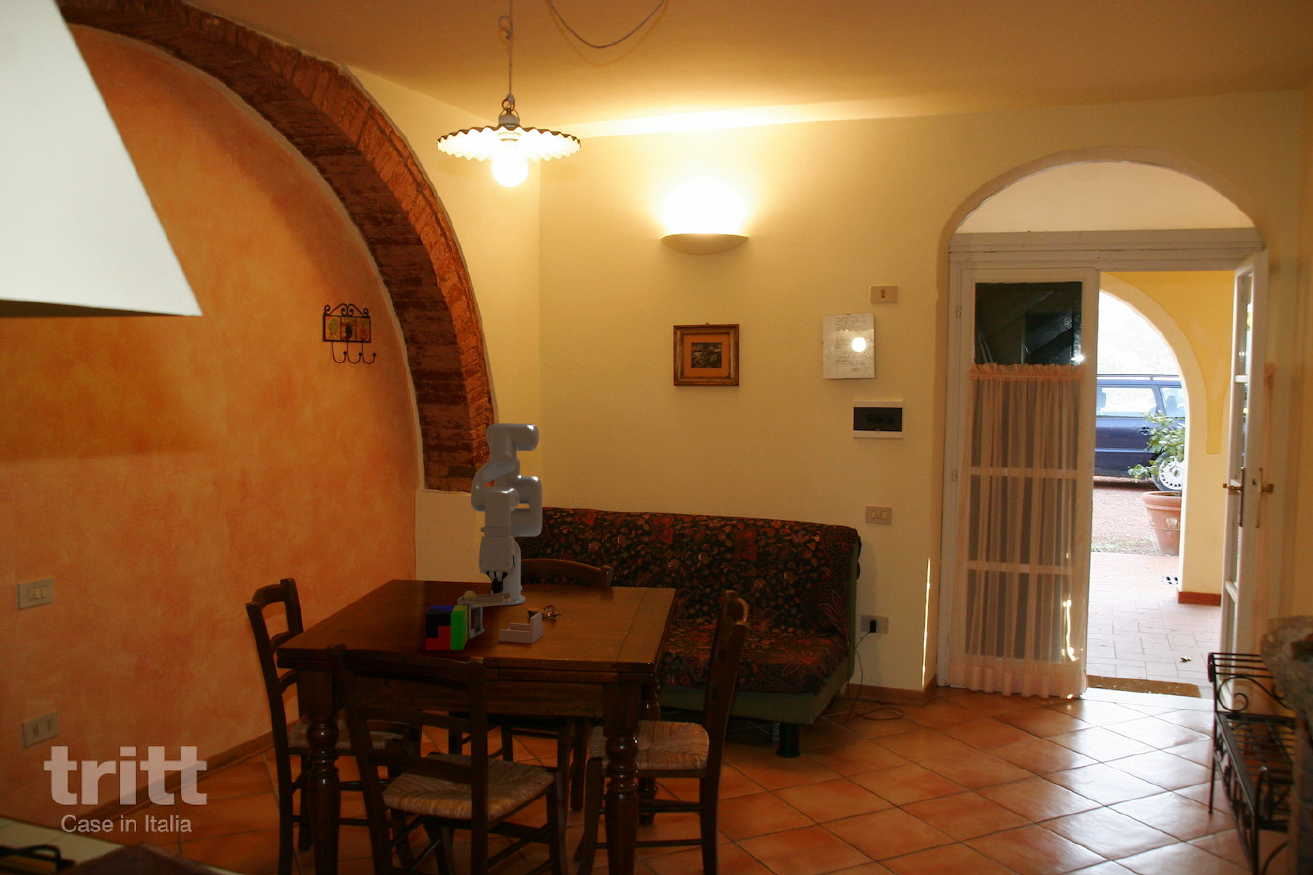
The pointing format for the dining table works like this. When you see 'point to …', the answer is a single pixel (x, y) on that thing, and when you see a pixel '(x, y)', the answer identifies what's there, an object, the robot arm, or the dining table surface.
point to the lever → (486, 600)
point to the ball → (469, 595)
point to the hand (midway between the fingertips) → (497, 593)
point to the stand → (477, 621)
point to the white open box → (524, 631)
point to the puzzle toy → (446, 628)
